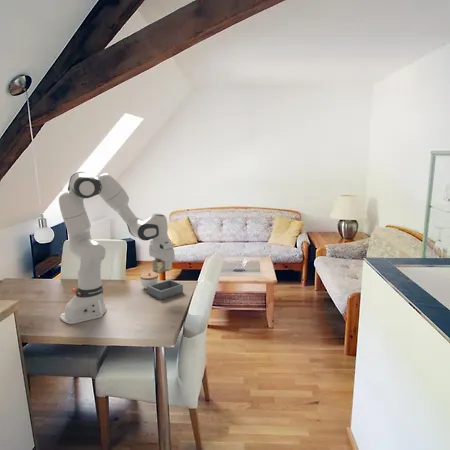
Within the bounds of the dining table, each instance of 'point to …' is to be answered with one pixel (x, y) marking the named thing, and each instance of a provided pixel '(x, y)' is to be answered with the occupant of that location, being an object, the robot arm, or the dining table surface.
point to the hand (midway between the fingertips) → (162, 266)
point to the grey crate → (165, 289)
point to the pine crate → (160, 266)
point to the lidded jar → (149, 279)
